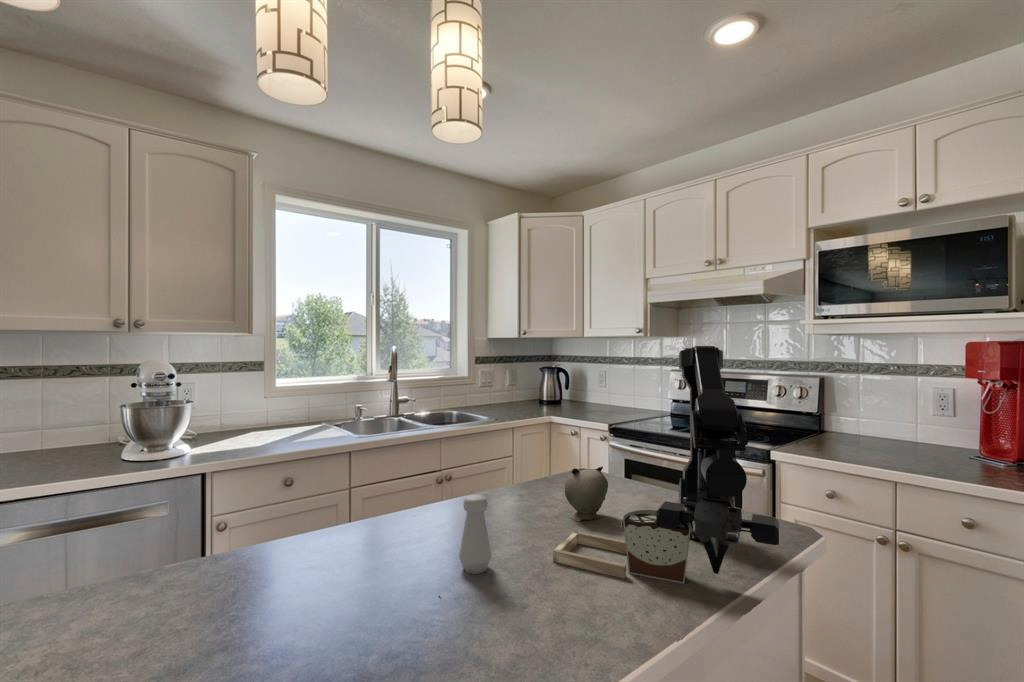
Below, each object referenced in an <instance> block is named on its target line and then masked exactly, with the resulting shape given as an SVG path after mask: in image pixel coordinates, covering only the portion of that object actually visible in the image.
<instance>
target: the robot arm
mask: <svg viewBox="0 0 1024 682" xmlns="http://www.w3.org/2000/svg"><path fill="white" fill-rule="evenodd" d="M678 368H679V370H681V376H682V379H683V381H684V383H685V384H686V386H687V387H688V389H689V432H690V433H689V438H690V439H689V444H690V445H689V447H690V448H689V449H690V452H689V454H690V455H689V456H690V457H689V460H688V461H687V463H686V464H685V466H684V467H683V469H682V477H681V478H680V477H679V483H678V502H672V501H664V502H663V503H662V504H661V505H660V506H659V507H658V508H657V509H656V510H657V514H656V524H657V525H658V526H663V527H669V528H676V527H677V526H678V525H679V524H680V521H681V522H687V523H689V522H690V525H691V527H692V530H693V532H692V534H691V533H690V540H697V541H700V542H701V543H702V545H703V547H704V550H705V553H706V555H707V558H708V559H709V563H710V566H711V569H712V572H713V574H716V575H719V573H720V570H721V566H722V564H723V560H724V558H725V555H726V553H727V550H728V549H729V547H730V546H731V545H732V543H733V544H738V543H739V541H740V537H741V533H742V532H744V533H750V537H751V538H752V539H753V541H755V542H756V543H760V544H764V545H771V546H778V545H780V522H779V520H778V519H777V518H776V517H775V516H769V515H763V514H757V513H756V514H755V513H752V515H751V519H744V518H743V513H742V512H743V511H742V508H740V507H735V497H736V496H738V495H739V494H741V493H743V491H744V490H745V488H746V486H747V481H748V476H747V473H746V471H745V469H744V468H743V466H742V465H741V464H740V463H739V462H738V459H737V458H736V457H737V456H736V452H746V451H747V448H746V446H748V444H749V437H748V433H747V426H746V423H745V422H746V421H745V419H744V418H743V415H742V414H741V412H738V409H737V406H736V402H735V400H734V399H733V398H732V397H730V396H728V395H727V394H726V393H725V389H724V383H723V378H722V374H721V370H723V369H724V350H721V349H719V347H716V346H715V345H695V346H692V347H685V348H684V349H682V350H680V351H679V354H678ZM736 438H737V439H736ZM692 535H693V536H694V538H693V536H692ZM716 540H718V543H716ZM716 544H717V545H716Z"/></svg>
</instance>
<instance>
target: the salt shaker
mask: <svg viewBox="0 0 1024 682" xmlns="http://www.w3.org/2000/svg"><path fill="white" fill-rule="evenodd" d="M462 506H463V509H464V511H466V514H465V518H464V525H463V530H462V535H461V541H460V548H459V553H458V554H459V555H458V558H459V561H460V564H461V565H462V568H463V570H464V571H465V572H466V573H467V574H473V575H478V574H482V573H485V572H486V571H487V569H488V566H489V563H490V561H491V559H492V549H491V545H490V540H489V535H488V534H489V533H488V529H487V523H486V517H485V511H487V509H488V498H487V497H486V496H485V495H481V494H470V495H468V496H466V497H465V498H464V499H463V505H462Z"/></svg>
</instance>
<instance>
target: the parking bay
mask: <svg viewBox="0 0 1024 682" xmlns="http://www.w3.org/2000/svg"><path fill="white" fill-rule="evenodd" d="M578 544H579V545H583V546H587V547H594V548H597V549H601V550H602V549H603V550H607V551H610V552H611V551H612V552H617V553H621V554H625V555H627V552H626V542H625V540H621V539H617V538H613V537H611V538H610V537H606V536H602V535H596V534H591V533H587V532H582V531H578V530H575V531H573V532H572V533H571V534H569V536H568V537H566V539H564V540H563V541H562V542H561V543H560V544H559V545H558V546H556V547H555V549H553V550H552V562H553V563H558V564H561V565H566V566H570V567H574V568H578V569H583V570H587V571H592V572H596V573H599V574H604V575H608V576H611V577H612V576H613V577H615V576H616V577H615V578H620V579H626V578H627V564H624V563H620V562H615V561H610V560H608V559H607V560H606V559H601V558H597V557H593V556H590V555H589V556H588V555H583V554H581V553H575V552H571V551H572V550H573V549H574V548H575V547H576V546H577V545H578Z"/></svg>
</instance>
